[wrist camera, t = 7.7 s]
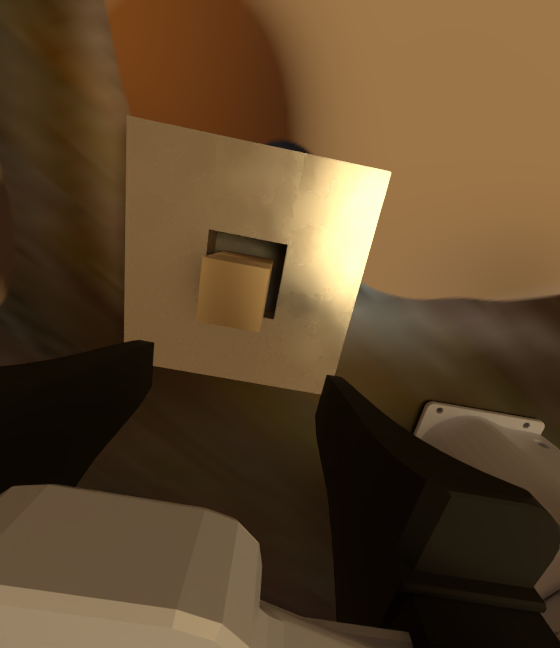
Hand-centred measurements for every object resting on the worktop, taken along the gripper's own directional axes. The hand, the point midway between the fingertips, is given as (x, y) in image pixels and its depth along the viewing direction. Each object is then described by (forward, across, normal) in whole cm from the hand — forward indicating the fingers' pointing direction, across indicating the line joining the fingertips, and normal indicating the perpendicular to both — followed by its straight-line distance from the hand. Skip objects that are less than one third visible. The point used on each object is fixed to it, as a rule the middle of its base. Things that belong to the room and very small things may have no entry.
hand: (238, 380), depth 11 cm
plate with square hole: (+8, +1, -3) cm, 9 cm away
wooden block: (+8, +1, -3) cm, 9 cm away
